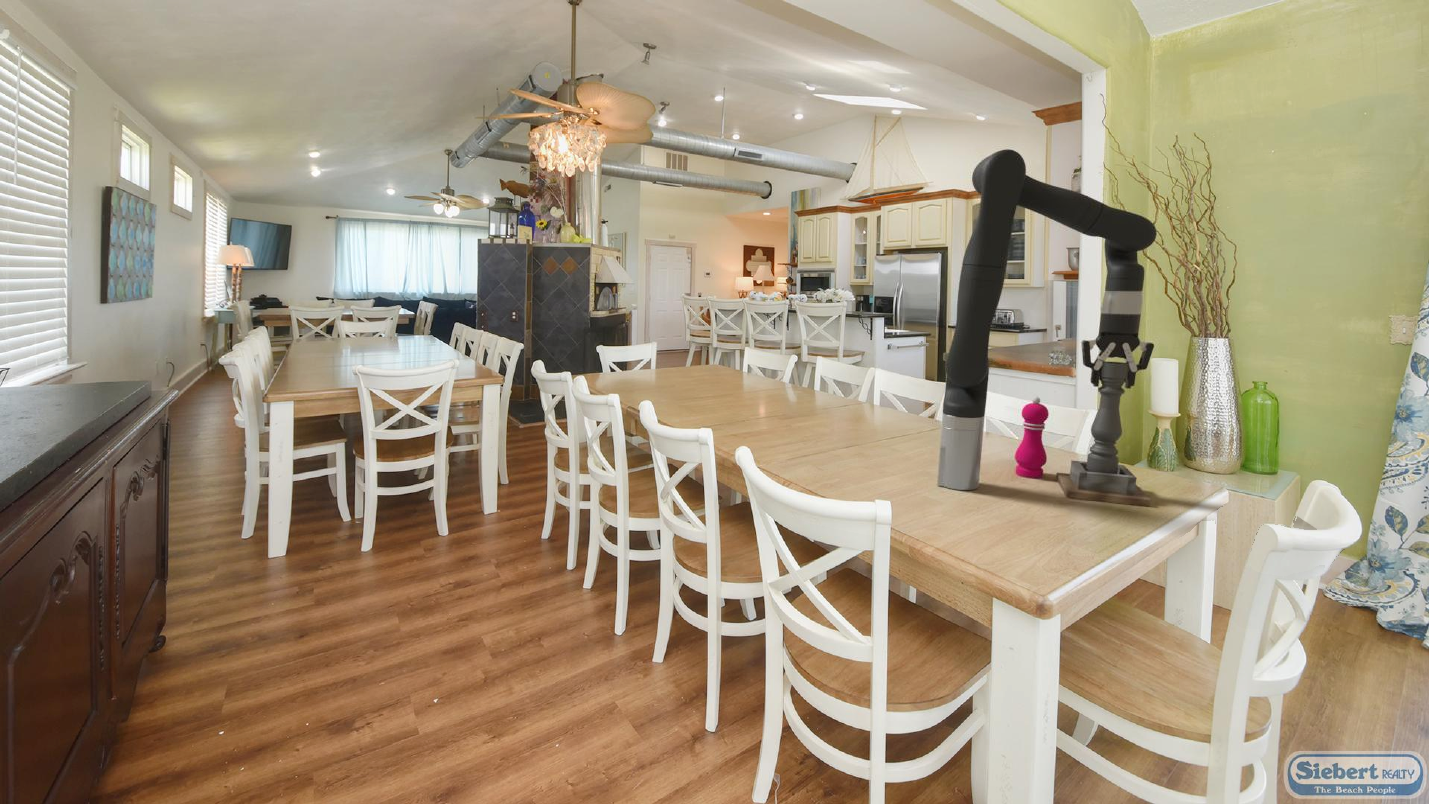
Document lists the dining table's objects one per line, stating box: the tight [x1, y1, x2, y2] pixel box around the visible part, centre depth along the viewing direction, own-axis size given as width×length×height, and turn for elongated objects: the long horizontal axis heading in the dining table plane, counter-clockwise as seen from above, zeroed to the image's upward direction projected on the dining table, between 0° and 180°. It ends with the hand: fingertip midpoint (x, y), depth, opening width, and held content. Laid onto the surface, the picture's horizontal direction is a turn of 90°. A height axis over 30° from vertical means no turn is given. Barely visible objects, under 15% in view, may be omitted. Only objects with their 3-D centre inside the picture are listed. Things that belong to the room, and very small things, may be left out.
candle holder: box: [1086, 360, 1129, 474], centre depth 144 cm, size 6×6×25 cm
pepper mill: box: [1014, 396, 1050, 479], centre depth 159 cm, size 7×7×20 cm
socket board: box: [1055, 460, 1152, 507], centre depth 147 cm, size 16×16×6 cm
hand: (1111, 386), depth 143 cm, fingers closed on candle holder, 5 cm apart
